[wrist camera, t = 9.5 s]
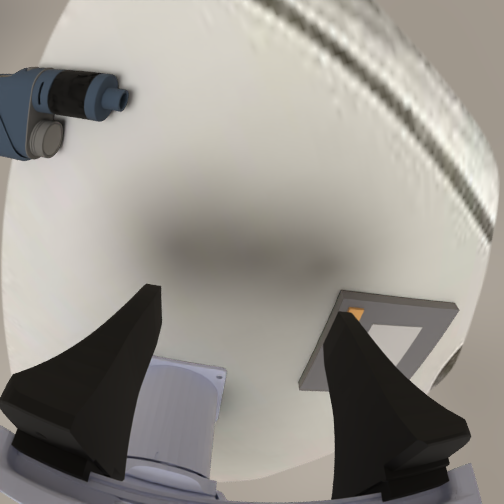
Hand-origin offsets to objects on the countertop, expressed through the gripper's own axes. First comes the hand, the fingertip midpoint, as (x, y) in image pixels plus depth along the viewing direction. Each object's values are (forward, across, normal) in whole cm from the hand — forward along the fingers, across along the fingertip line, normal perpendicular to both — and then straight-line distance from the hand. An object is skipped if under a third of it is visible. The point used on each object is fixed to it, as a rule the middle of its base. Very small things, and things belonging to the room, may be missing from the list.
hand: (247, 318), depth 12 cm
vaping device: (+4, +19, -8) cm, 21 cm away
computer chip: (+6, -11, +7) cm, 14 cm away
